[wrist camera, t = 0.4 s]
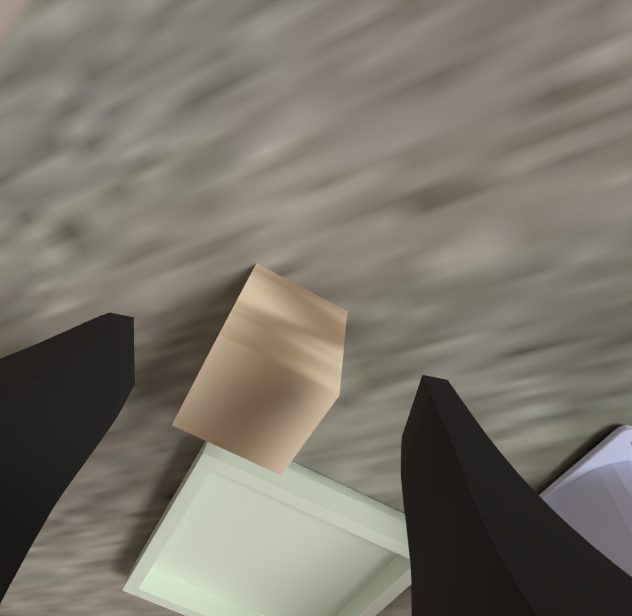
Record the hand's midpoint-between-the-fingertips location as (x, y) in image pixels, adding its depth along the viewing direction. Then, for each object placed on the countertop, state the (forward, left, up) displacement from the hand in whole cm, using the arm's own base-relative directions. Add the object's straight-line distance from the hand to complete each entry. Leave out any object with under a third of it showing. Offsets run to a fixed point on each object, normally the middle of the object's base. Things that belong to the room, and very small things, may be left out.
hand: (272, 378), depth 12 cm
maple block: (-1, +4, -10) cm, 10 cm away
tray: (-7, +18, -9) cm, 22 cm away
